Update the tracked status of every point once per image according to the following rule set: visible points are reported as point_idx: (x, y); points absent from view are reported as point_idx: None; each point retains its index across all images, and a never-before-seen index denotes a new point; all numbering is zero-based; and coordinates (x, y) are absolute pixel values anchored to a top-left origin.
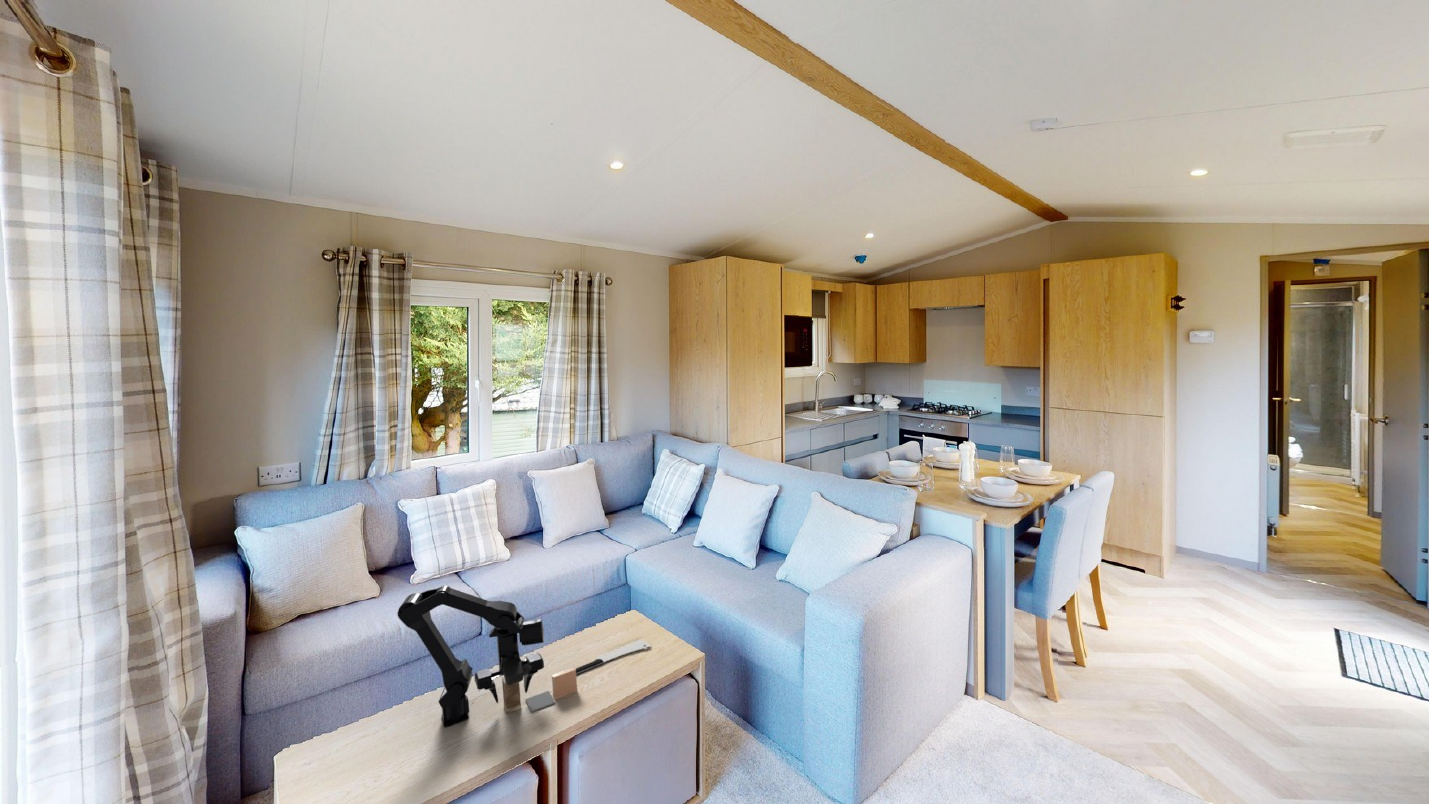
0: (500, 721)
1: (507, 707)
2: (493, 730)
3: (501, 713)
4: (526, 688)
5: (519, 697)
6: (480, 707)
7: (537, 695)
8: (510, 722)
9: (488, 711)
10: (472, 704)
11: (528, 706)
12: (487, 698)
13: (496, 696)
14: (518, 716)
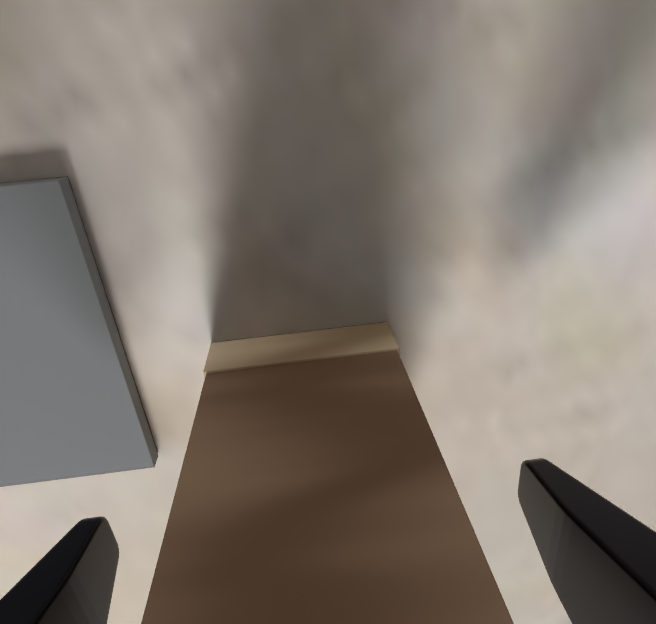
0: (490, 200)
1: (389, 365)
2: (628, 33)
3: (441, 351)
4: (43, 587)
5: (200, 446)
6: None
7: (2, 473)
8: (379, 99)
9: (546, 439)
10: None
11: (115, 330)
12: None
13: (634, 554)
14: (256, 186)
